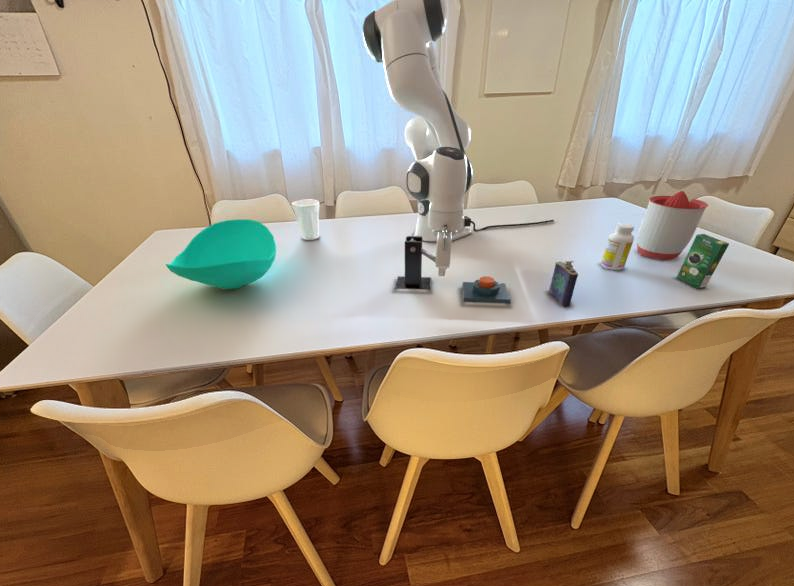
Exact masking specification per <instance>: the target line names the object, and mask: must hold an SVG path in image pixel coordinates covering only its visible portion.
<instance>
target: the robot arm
mask: <svg viewBox="0 0 794 586" xmlns="http://www.w3.org/2000/svg"><path fill="white" fill-rule="evenodd" d="M447 21H448V7H447V3H446V0H392V1H390V2H388V3H386V4H384V5H383V6H381V8H379V9H377V10H373V11H371V12H370V13H369V14H368V15H366V17H365V18H364V21H363V24H362V36H363V42H364V46H365V48H366V51H367V53H368V54H369V56H370V58H371V59H372V60H373V61H375V62H376V63H383V69H384V74H385V79H386V84H387V88H388V91H389V94H390V96H391V99H392V100H393V102H394V103H395V104H396V105H397V106H399V108H401V109H403V110H405V112H409V113H411V114H413V115H416V116H415V117H412V118H410V120H409V121H408V122H407V123H406V125H405V129H404V141H405V143H406V146H407V147H409V149H410V151H411V152H412V154H413V157H414V160H415V161H413V162H412V163H411V164H410V166H409V168H408V170H407V173H406V188H407V191H408V193H409V194H410V196H412V197H413V198H414V199H415V200H417V221H416V226H415V230H414V234H413V236H422V241H425V242H436V247H435V257H436V263H435V262H434V263H435V267H436V268H437V269H438V272H437V274H438V276H439V277H445V276H446V270H447V269H449V268H450V266H451V256H452V246H453V245H452V244H453V241H455V240H458V239H460V238H463V237H465V236H468V235H470V234H471V229H470V228H468V227H471V226H472V225H473V226H472V230H473V231H474V232H478V231H484V230H486V229H491V228H504V227H505V228H506V227H521V226H531V225H539V224H547V223H552V222H554V221H555V220H554V219H549V220H542V221H534V222H525V223H510V224H509V223H508V224H495V225H488V226H485V227H482V228H480V229H477V228H476V223H475V222H474V221H473V220H472V218H470V217H469V216H467V215H464V214H465V213H464V212H465V211H464V210H465V204H464V197H465V195H466V193H467V192H468V191H469V190H470V187H471V186H472V184H473V179H474V172H473V167H472V163H471V162H470V160H469V158H468V155H467V154H466V151H467V149H468V147H469V145H470V142H471V135H472V134H471V133H472V131H471V128H470V125H469V123H468V122H467V121H466V120H464V119H463V118H462V117H461V116H460V115H459V114H458V112H457V111H456V109H455V108H454V107H453V104H452V103H451V101H450V99H449V97H448V95H447V93H446V89H445V86H444V82H443V79H442V75H441V70H440V66H439V60H438V58H437V53H436V50H435V47H434V44H433V43H436V42H437V41H438V39H440V38H441V37H442V36H444V33H445V31H446V29H447ZM471 224H472V225H471ZM446 268H447V269H446Z"/></svg>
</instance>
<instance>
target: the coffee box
mask: <svg viewBox="0 0 794 586" xmlns="http://www.w3.org/2000/svg"><path fill="white" fill-rule="evenodd" d="M729 245H730V243H729V242H726V241H723V240H721V239H718V238H716V237H713V236H711V235H708V234H706V233H699V234H698V233H697V234H696V235H695V237H694V239H693V242H692V244H691V246H690V248H689V250H688V251H687V254H686V256H685V259H684V261H683V263H682V265H681V266H680V269H679V271H678V274H677V275H676V279H677V280H679V281H681V282H683V283H685V284H687V285H689V286H691V287H692V288H696V289H697V290H701V289H706V287H707V286H708V284H709V282H710V280H711V278H712V276H713V274H714V273H715V271H716V269H717V267H718V266H719V264H720V262H721V260H722V259H723V256H724V255H725V253H726V252H727V249H728V247H729Z"/></svg>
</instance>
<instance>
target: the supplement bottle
mask: <svg viewBox="0 0 794 586" xmlns="http://www.w3.org/2000/svg"><path fill="white" fill-rule="evenodd" d="M634 229H635V226H634V225H633V224H630V223H625V222H624V223H623V222H621V223H617V224H616V226H615V231H614V232H612V233H610V235H609V237H608V240H607V243H606V246H605V250H604V253H603V256H602V259H601V263H600V264H601V267H603V268H604V269H605V270H611V271H621V270H623V269H624V268H625V266H626V263H627V260H628V257H629V254H630V252H631V250H632V246H633V243H634V240H635V236H634V235H633V234H632V233H633V231H634Z"/></svg>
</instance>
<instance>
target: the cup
mask: <svg viewBox="0 0 794 586" xmlns="http://www.w3.org/2000/svg"><path fill="white" fill-rule="evenodd" d="M291 206H292V210H293V212H294V215H295V218H296V221H297V224H298V228H299V230H300V234H301V238H302V239H303V240H307V241H313V240H317V239H319V238H320V201H319V200H318V199H311V198H310V199H309V198H308V199H307V198H306V199H299V200H298V199H297V200H295V201H293V202H292V203H291Z"/></svg>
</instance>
